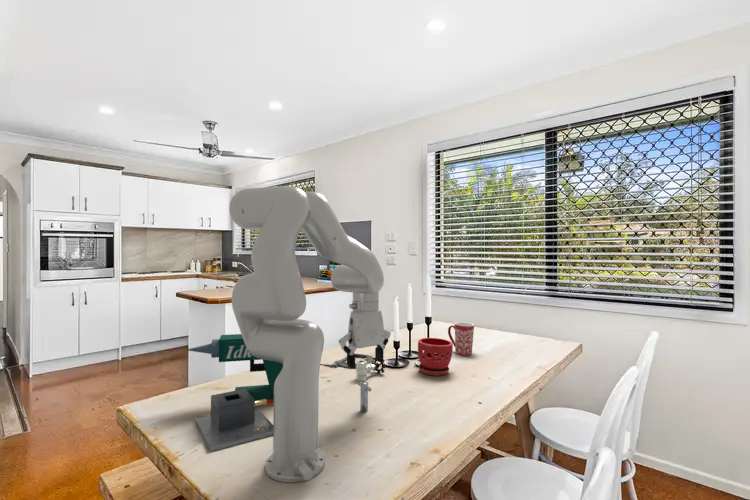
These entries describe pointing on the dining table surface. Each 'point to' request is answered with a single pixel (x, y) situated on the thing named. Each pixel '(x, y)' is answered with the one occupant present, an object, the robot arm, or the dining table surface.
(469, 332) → the mug
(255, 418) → the block
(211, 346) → the power tool
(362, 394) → the chuck key
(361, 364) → the valve
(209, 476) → the dining table surface
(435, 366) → the plant pot
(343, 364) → the c clamp
